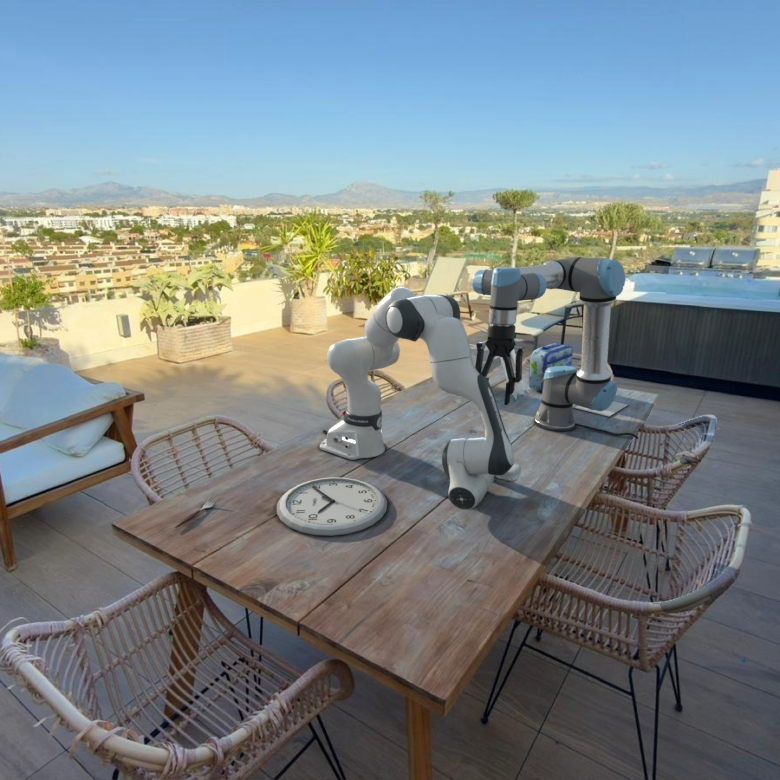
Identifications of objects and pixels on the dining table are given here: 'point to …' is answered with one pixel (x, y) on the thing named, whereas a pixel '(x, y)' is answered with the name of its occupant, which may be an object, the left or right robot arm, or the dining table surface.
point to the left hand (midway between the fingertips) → (491, 456)
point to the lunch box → (547, 362)
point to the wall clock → (331, 506)
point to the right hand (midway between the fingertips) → (495, 401)
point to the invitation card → (609, 411)
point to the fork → (206, 505)
